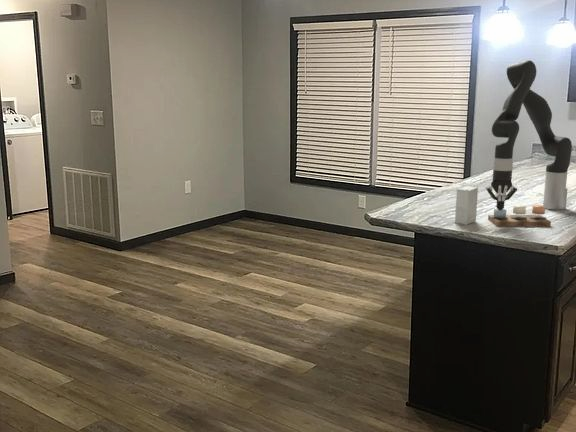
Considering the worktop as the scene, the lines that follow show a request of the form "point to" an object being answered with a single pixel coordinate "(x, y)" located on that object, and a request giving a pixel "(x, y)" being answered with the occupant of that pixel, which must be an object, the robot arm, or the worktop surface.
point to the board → (520, 220)
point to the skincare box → (466, 205)
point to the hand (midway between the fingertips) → (499, 209)
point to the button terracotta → (538, 209)
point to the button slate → (500, 213)
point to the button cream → (519, 209)
